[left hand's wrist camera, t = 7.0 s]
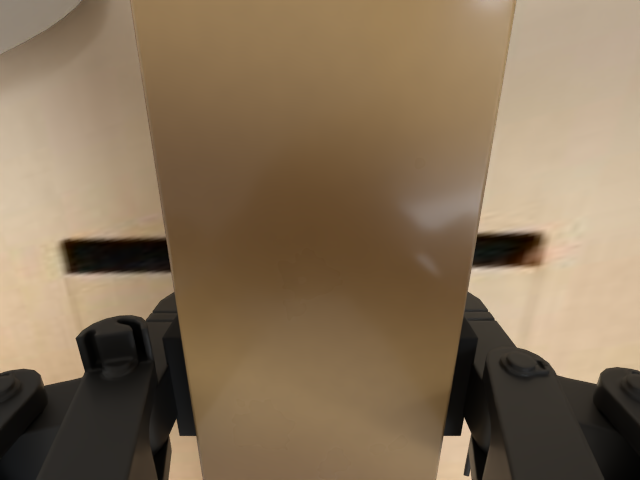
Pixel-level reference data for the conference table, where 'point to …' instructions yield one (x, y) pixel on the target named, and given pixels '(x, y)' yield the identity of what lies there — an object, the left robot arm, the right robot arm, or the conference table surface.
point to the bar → (321, 220)
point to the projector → (29, 19)
